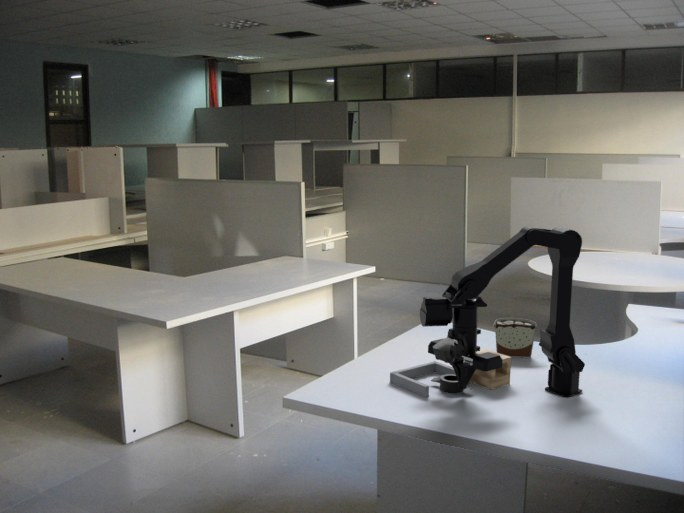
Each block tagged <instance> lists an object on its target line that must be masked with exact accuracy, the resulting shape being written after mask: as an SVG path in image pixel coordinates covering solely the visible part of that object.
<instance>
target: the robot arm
mask: <svg viewBox="0 0 684 513" xmlns="http://www.w3.org/2000/svg"><path fill="white" fill-rule="evenodd" d="M582 245H583V238H582V235H581V234H580V233H579V232H578V231H576V230H573V229H569V228H567V227H563V226H557V227H554V228H552V229H547V228H540V227H539V228H538V227H536V228H535V227H531V226H529V225H528V226H524V227H522V228H521V229H520V230H519V231H518V232H517V233H516V234H514V235H513V236H512V237H511V238H509V239H508V240H506V241H505V242H504V243H503V244H502V245H500V246H499V247H497V249H495V250H494V251H492V252H491V253H490V254H488V255H487V256H486V257H484V258H482V260H480V261H478V262H475V263H471V264H469V265H468V266H465V267H464V268H462V269H460V270H458V271H456V272H455V273H454V274H453V275H452V276H451V283H450V284H449V285H448V287H447V288H446V289H445V291H444V292H443V294H441V296H439V297H433V296H432V297H431V296H423V297H422V303H421V304H420V308H419V319H420V324H421V326H422V327H447V326H448V325H450V324H451V323H452V327H451V328H449V329H448V330H447V336H446V337H445V338H440V339H435V340H430V342H429V343H428V346H427V353H428V354H431V355H433V356H434V357H435V360H437V361H442V362H444V363H446V364H449V366H450V367H453V369H454V371H455V374H456V377H457V380H458V383H459V387H460V389H462V390H464V391H465V390H466V387H468V385H469V384H468V383H469V381H470V379H471V377H472V375H473V374H474V372H475V371H476V369H478V370H481V371H491V370H494V369H498V368H501V367H502V358H501V356H500V355H497V354H494V353H490V352H486V353H482V354H477V353H476V352H478V351H481V346H479V345H477V344H478V342H477V341H478V335H481V333H482V329H480V328H478V321H479V320H478V317H479V308H486V307H488V304H487V302H485V301H484V300H483V298H482V296H480V294H482V293H483V292H484V290H485V289H486V288H487V287H488V286H489V284H490V282H491V280H492V279H493V278H494V277H495V276H496V275H498V273H500V272H502V270H504V269H505V268H506V267H507V266H509V265H510V264H512V263H513V262H514V261H515V260H517V259H519V257H521V256H522V255H523V254H524V253H526V252H528V251H529V250H530V249H531V248H532V247H534V246H539V247H543V248H544V247H545V248H547V253H548V256H549V259H550V263H551V266H552V267H551V269H552V270H551V284H550V286H551V287H550V288H551V289H550V306H549V308H550V310H549V322H548V325H547V326H546V328H545V329H539V330H540V331H539V336H540V337H539V338H540V339H539V343H538V346H539V347H541V352H542V353H543V355H545V356H546V358H547V360H548V363H550V364H549V369H548V375H547V386H546V387H544V390H545V391H547V392H550V393H551V394H552V393H553V394H555V395H559V396H562V397H565V398H570V397H572V396H574V395H578V394H580V393H581V394H582V393H583V389H580V388H579V387H580V376H581V375H580V373H582V372H583V370H584V367H585V366H586V363H585V362H584V361H583V360H582V359H581V358H580V357H579V356H578V355H577V354H576V351H577V350H576V344H575V339H574V335H573V333H572V328H571V313H572V312H571V311H572V310H571V309H572V297H573V296H572V293H573V280H574V279H573V278H574V277H573V274H574V267H575V265H576V263H577V261H578V259H579V258H580V254H581V250H582Z"/></svg>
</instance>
